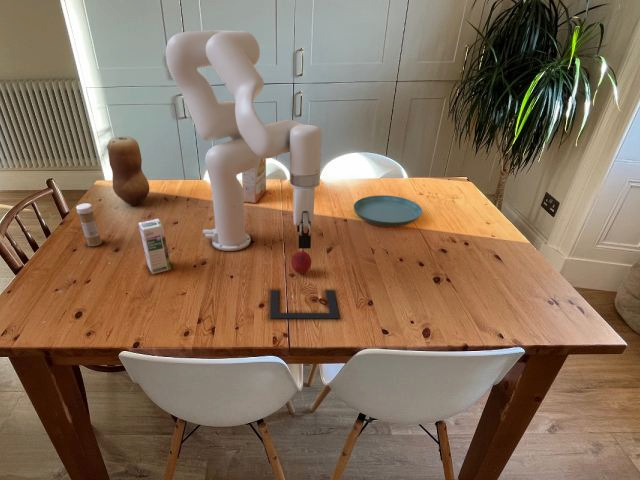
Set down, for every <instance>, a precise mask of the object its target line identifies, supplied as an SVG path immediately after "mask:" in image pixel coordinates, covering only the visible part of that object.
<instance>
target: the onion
mask: <svg viewBox="0 0 640 480" xmlns="http://www.w3.org/2000/svg"><path fill="white" fill-rule="evenodd" d="M290 264H291V265H290V266H291V268H292V270H294V271H295V272H296V273H298V274H304V273H306V272H308V271H309V269H311V267H312V264H313V263H312V258H311V256H310V253H308V252H307V251H305V249H299V251H296V252H295V253H294V254H293V255H292V258H291V259H290Z"/></svg>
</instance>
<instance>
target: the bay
mask: <svg viewBox="0 0 640 480" xmlns="http://www.w3.org/2000/svg"><path fill="white" fill-rule="evenodd" d="M325 291H326V298H327V303H328V304H327V305H328V310H329V312H279V290H278V289H271V290H270V317H269V318H270V320H339V319H340V315H339V311H338V305H337V301H336V300H337V299H336V294H335V290H334V289H326V290H325Z"/></svg>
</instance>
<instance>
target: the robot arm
mask: <svg viewBox="0 0 640 480" xmlns="http://www.w3.org/2000/svg"><path fill="white" fill-rule="evenodd" d="M260 51H261V50H260V45H259V43H258V40H257V39H256V37H255V36H254V35H253V34H252V33H250V32H249V31H247V30H228V29H227V30H224V29H209V30H208V29H207V30H190V31H189V30H188V31H182V32H178V33H176V34H174V35H173V36H171V37H170V38H169V39H168V41H167V44H166V48H165V61H166V66H167V70H168V71H169V74H170V76H171V78H172V80H173V82H174V83H175V85H176V86H177V88H178V90H179V91H180V94H181V95H182V97H183V100H184V102H185V104H186V108H187V110H188V111H189V114H190V117H191V119H192V122H193V125H194V126H195V130H196V131H197V133H198V135H199V136H200V138H201V139H202V140H204V141H205V142H215V141H218V140H221V139H225V138H229V139H230V140H227V141H224V142H221V143H218V144H216V145H214V146H212V147H210V148H209V149H208V150H207V152H206V154H205V158H204V160H205V162H204V163H205V167H206V171H207V174H208V178H209V181H210V182H209V183H210V190H211V197H212V206H213V217H214V226H215V227H214V228H212V229H202V236H204V238H205V239H211V244H212V246H213V247H214V248H215V249H217V250H221V251H224V252H235V251H240V250H243V249H246V248H247V247H248V246H249V245H250V244H251V236H250V235H249V234H248V233H247V232H246V218H245V217H246V215H245V202H244V197H243V186H242V183H241V182H240V180H239V179H238V175H240V174H242V172H245V171H247V170H250V169H252V168H254V167H256V166H257V165H258V163H259V161H260V157H261V158H265V159H266V160H267V159H272V158H275V157H277V156H279V155H282V154H287V153H289V185H290V187H292V188H293V192H292V193H293V194H292V196H293V197H292V210H293V211H292V219H293V225H294V226H295V227H296V232H297V233H298V246H297V247H298V249H299V250H300V249H304V250H305V249H306V250H307V249H310V250H311V248H312V234H311V226H312V225H313V224H314V215H315V196H316V195H315V194H316V188H318V187H319V186H320V183H321V159H322V157H321V156H322V130H321V128H320V127H318V126H317V125H313V124H303V123H301V122H298V121H295V120H294V119H283V120H280V121H274V122H271V123H268V124H264V123H263V121H262V120H261V119H260V116H259V115H258V114H257V111H256V109H255V107H254V101H255V100H256V99H257V98H258V97H259V95H260V94H261V92H262V91H263V88H264V85H265V82H264V78H263V76H262V75H261V74H260V72H259V71H258V69H257V68H256V66H255V65H257V63H258V61H259V60H260V55H261V52H260ZM208 67H212V68H213V70H214V71H215V72H216V74H217V76H218V77H219V78H220V79H221V81H222V83H223V84H224V86H225V88H227V90H228V91H229V93H230V95H231V96H232V97H233V99H234V100H226V101H222V102H220V101H219V100H218V98H217V95H216V94H215V91H214V89H213V86H212V85H211V83H210V82H209V80H208V79H207V78H206V77H205V76H204V75H203V74H202V73H201V72H199V71H198V69H200V68H208Z"/></svg>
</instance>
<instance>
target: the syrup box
mask: <svg viewBox="0 0 640 480" xmlns="http://www.w3.org/2000/svg"><path fill="white" fill-rule="evenodd" d="M138 228H139V232H140V237H141V240H142V246H143V250H144V255H145V259H146V265H147V267H148V269H149V270H150V273H151V274H152V275H155V274H159V273H162V272H163V273H164V272H166V271H171V270H172V265H171V260H170V256H169V250H168V245H167V240H166V234H165V229H164V225H163V223H162V222H161V220H160V219H159V218H155V219H151V220H146V221H140V222H138Z"/></svg>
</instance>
